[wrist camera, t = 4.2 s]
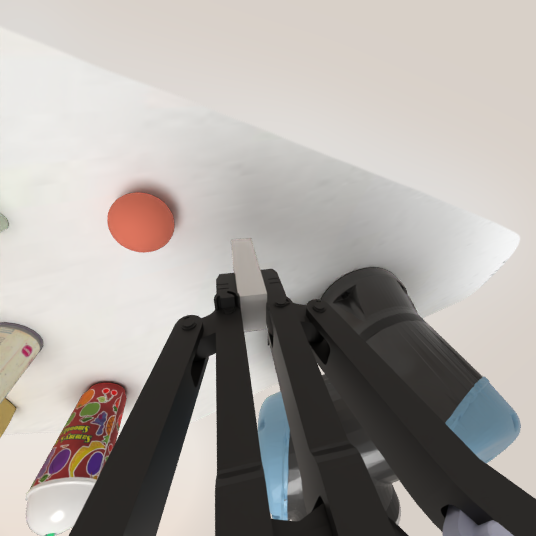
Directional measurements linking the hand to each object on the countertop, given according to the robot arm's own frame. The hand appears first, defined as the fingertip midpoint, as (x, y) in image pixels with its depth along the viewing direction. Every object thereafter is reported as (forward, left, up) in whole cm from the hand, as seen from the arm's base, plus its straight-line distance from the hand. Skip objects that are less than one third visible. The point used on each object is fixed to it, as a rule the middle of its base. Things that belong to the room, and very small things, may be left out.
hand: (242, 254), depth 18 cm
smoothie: (+24, +32, -12) cm, 42 cm away
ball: (+9, 0, -9) cm, 13 cm away
